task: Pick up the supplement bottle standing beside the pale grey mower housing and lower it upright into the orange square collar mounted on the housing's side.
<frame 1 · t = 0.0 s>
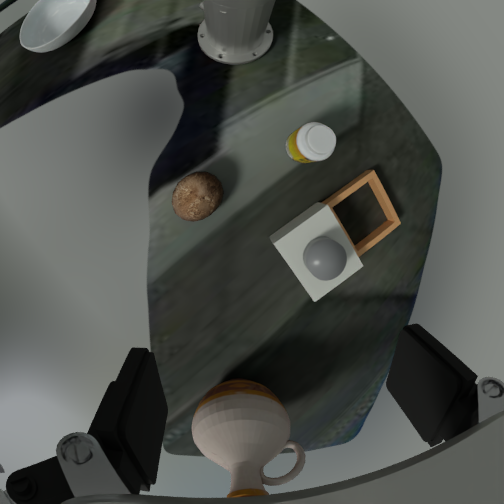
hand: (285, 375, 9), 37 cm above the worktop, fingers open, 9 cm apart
cereal bowl: (68, 25, 32), on the worktop
jug: (242, 391, 54), on the worktop
mushroom: (199, 195, 44), on the worktop
mower housing: (312, 247, 48), on the worktop
supplement bottle: (301, 147, 43), on the worktop
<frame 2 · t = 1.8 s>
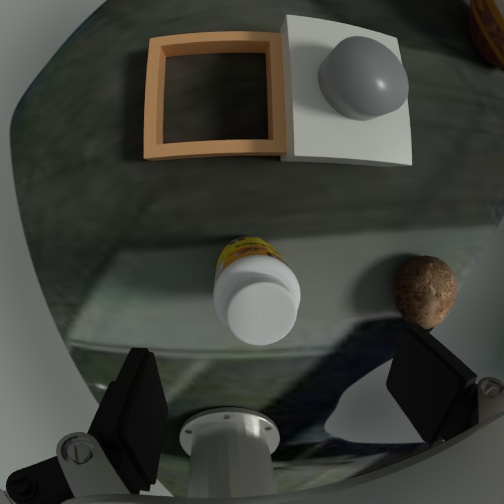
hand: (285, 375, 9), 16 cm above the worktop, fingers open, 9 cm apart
jug: (480, 38, 21), on the worktop
mushroom: (410, 281, 28), on the worktop
mower housing: (332, 100, 22), on the worktop
supplement bottle: (247, 264, 25), on the worktop
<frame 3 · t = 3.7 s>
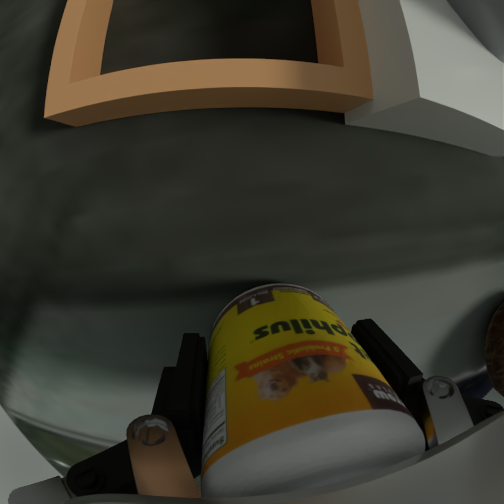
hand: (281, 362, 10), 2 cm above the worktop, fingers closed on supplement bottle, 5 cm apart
mushroom: (496, 327, 15), on the worktop
mower housing: (419, 35, 9), on the worktop
supplement bottle: (272, 333, 12), on the worktop, touching gripper
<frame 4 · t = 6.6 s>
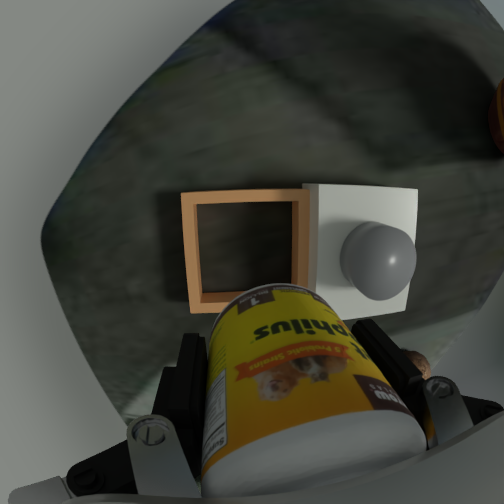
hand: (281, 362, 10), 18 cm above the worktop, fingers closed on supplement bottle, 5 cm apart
jug: (497, 122, 26), on the worktop
mushroom: (395, 365, 34), on the worktop
mower housing: (348, 243, 28), on the worktop
supplement bottle: (272, 333, 12), point 16 cm above the worktop, touching gripper
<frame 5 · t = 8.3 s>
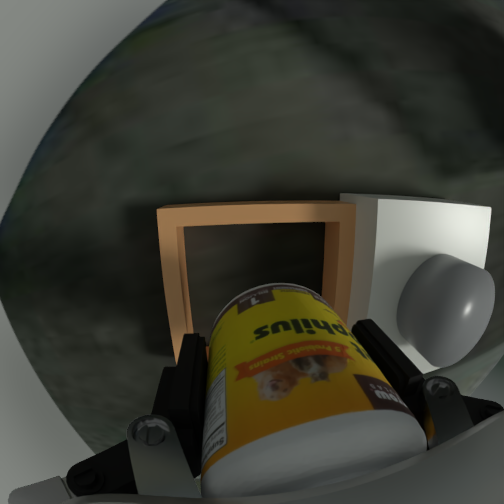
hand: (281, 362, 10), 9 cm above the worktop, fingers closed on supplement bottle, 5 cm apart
mower housing: (394, 275, 19), on the worktop
supplement bottle: (272, 333, 12), point 6 cm above the worktop, touching gripper
when the fingers open (4 cm above the worktop, at t = 9.6 s): supplement bottle drops 2 cm, resting in mower housing.
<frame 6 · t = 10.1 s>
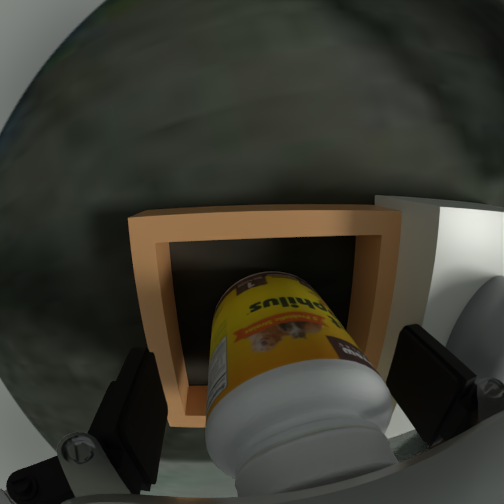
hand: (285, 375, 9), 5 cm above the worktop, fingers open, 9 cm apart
mower housing: (431, 296, 15), on the worktop
supplement bottle: (266, 316, 14), resting in mower housing
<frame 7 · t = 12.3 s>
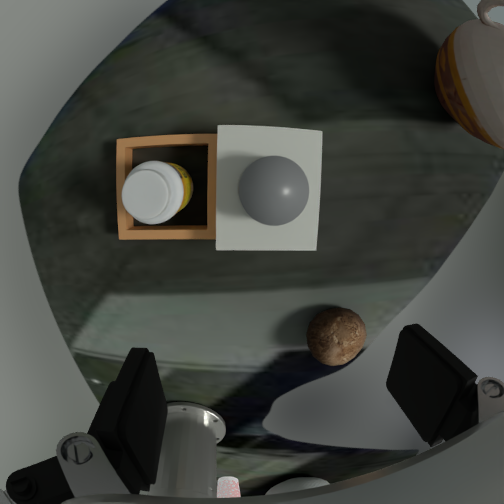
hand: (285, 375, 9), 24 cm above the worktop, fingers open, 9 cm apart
cereal bowl: (294, 482, 50), on the worktop
beverage cup: (228, 479, 47), on the worktop
jug: (448, 88, 29), on the worktop
mushroom: (329, 324, 37), on the worktop
mower housing: (263, 186, 31), on the worktop
supplement bottle: (170, 187, 30), resting in mower housing
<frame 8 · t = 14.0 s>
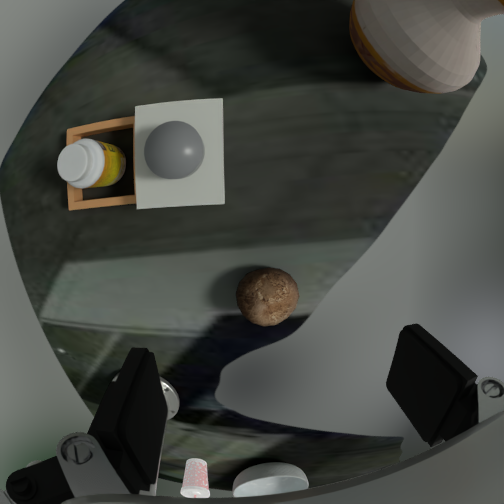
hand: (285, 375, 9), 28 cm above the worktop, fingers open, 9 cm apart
cereal bowl: (267, 469, 51), on the worktop
beverage cup: (196, 462, 49), on the worktop
jug: (376, 51, 31), on the worktop
mushroom: (264, 287, 39), on the worktop
mower housing: (184, 155, 34), on the worktop
supplement bottle: (109, 165, 33), resting in mower housing
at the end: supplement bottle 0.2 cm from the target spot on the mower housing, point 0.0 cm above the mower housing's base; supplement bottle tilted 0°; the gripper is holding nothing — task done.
